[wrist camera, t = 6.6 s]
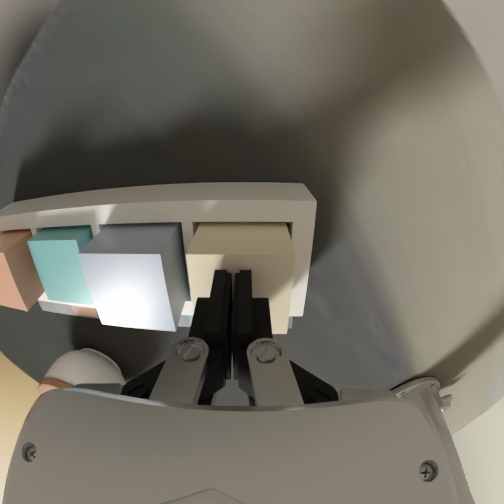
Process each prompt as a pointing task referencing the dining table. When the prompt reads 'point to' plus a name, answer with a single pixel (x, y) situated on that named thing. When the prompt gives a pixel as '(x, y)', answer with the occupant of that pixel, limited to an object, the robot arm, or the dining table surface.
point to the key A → (18, 271)
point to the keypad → (176, 210)
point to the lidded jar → (81, 370)
